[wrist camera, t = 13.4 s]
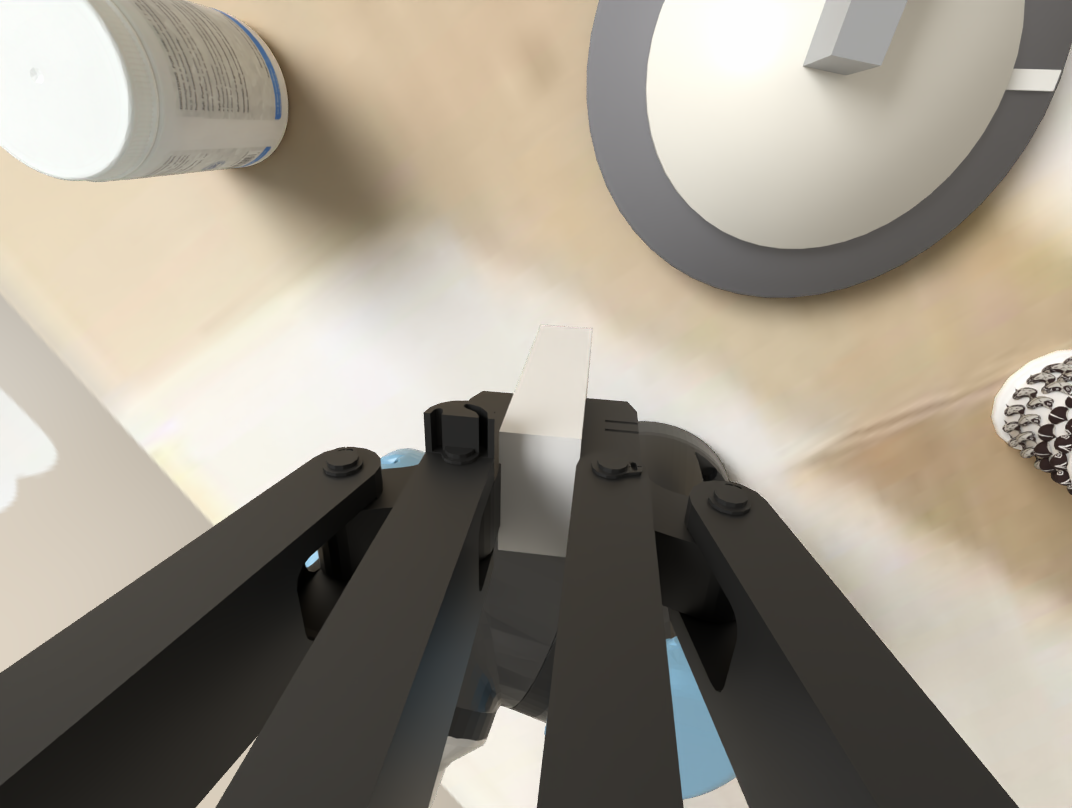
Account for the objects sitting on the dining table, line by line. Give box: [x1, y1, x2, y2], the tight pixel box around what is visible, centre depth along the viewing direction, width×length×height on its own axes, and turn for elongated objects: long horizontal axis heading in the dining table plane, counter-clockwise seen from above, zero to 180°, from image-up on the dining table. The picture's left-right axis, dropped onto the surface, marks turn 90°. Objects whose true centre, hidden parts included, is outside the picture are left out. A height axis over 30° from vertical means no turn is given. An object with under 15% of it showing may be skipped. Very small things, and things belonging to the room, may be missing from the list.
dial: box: [646, 0, 1025, 249], centre depth 27 cm, size 24×19×7 cm
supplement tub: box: [0, 0, 288, 182], centre depth 32 cm, size 10×10×15 cm
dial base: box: [587, 0, 1072, 298], centre depth 33 cm, size 26×26×3 cm
